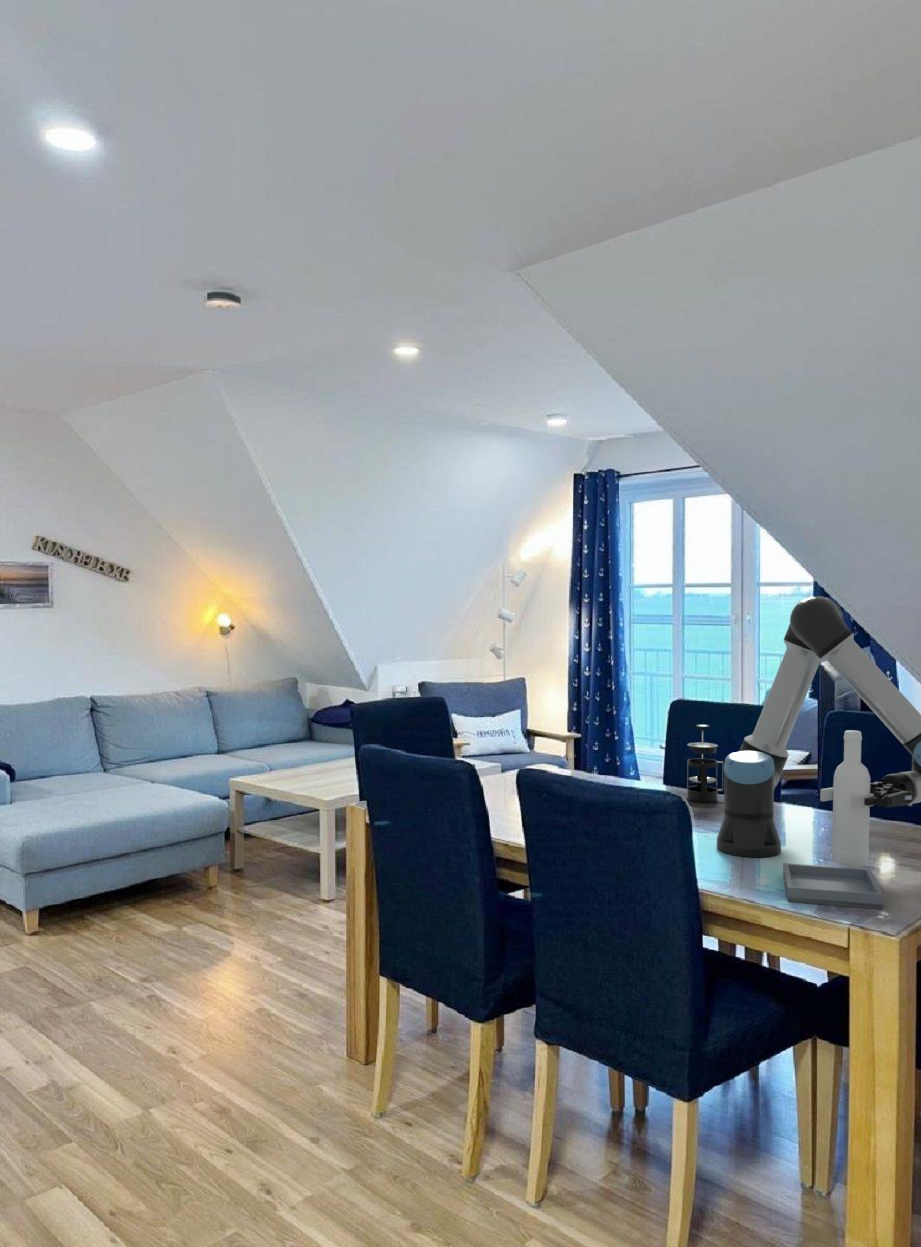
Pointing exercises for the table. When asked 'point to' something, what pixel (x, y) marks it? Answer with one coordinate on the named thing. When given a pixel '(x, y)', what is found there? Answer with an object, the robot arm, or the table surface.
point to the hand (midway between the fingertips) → (837, 799)
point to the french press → (703, 773)
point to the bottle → (848, 822)
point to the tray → (832, 886)
